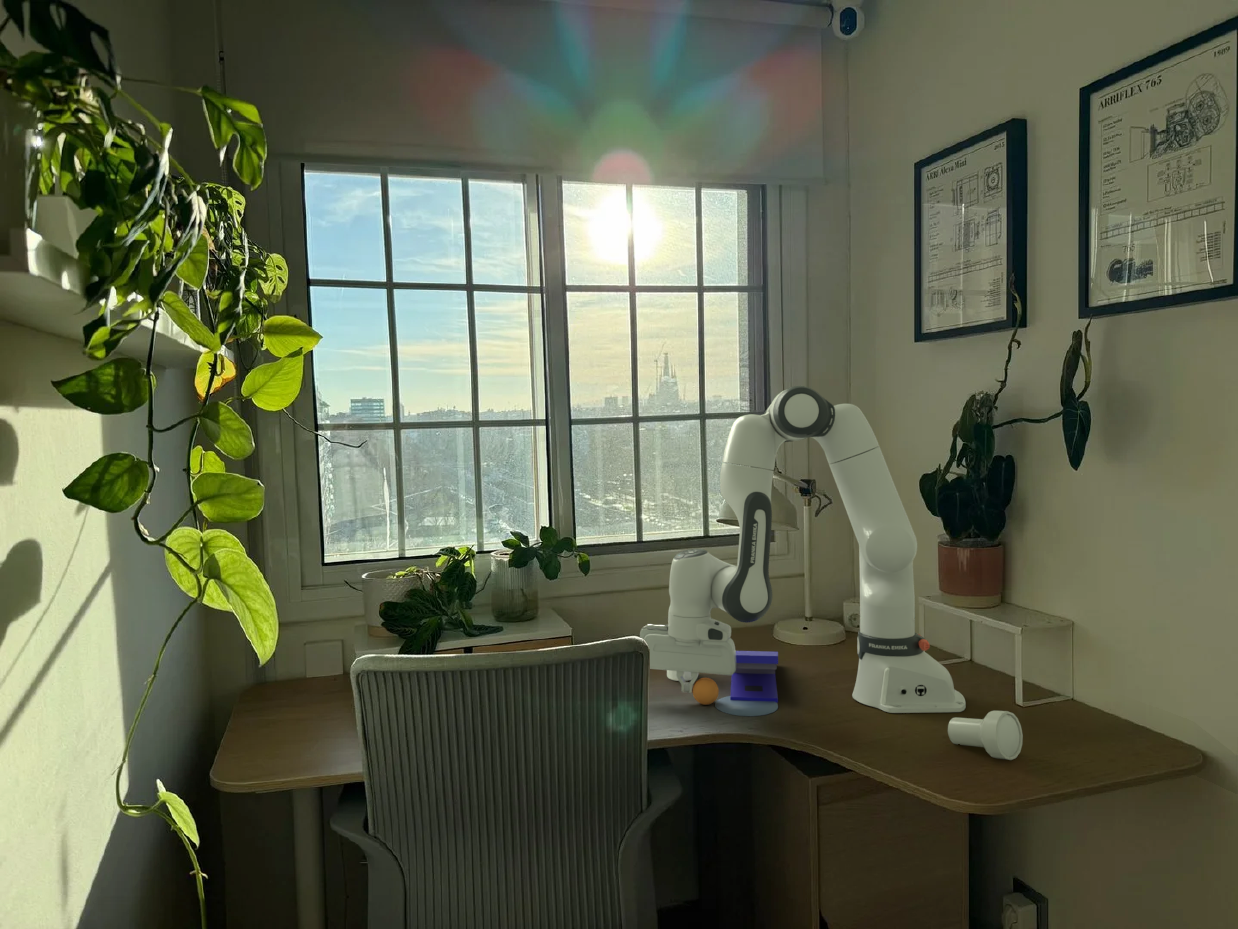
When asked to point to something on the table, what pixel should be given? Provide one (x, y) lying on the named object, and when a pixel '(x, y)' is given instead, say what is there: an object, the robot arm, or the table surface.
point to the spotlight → (989, 733)
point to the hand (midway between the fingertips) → (687, 691)
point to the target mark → (745, 707)
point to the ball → (705, 691)
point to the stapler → (755, 676)
